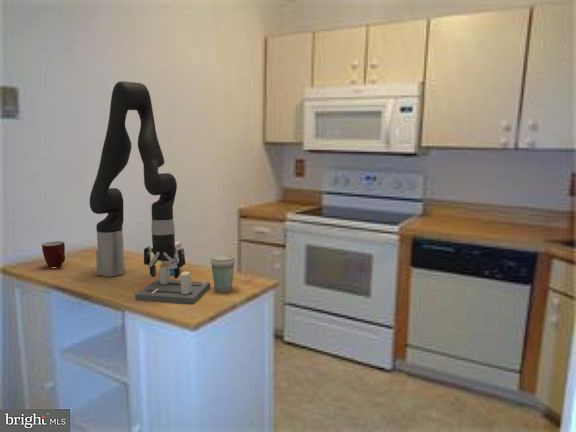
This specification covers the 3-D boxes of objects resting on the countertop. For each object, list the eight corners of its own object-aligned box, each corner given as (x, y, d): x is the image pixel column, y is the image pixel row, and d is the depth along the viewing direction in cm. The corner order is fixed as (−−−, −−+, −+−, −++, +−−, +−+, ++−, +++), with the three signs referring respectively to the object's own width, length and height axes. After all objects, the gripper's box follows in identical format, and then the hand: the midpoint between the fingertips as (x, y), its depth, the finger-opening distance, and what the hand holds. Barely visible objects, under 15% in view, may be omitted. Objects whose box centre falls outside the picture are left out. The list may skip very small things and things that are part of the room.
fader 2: (181, 293, 144) (180, 274, 143) (185, 290, 148) (184, 271, 146) (187, 294, 144) (187, 274, 143) (191, 290, 147) (190, 271, 146)
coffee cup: (225, 296, 149) (224, 261, 147) (205, 291, 154) (205, 257, 152) (240, 288, 156) (240, 255, 154) (222, 284, 161) (221, 252, 159)
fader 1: (160, 283, 154) (159, 265, 153) (164, 281, 157) (163, 263, 156) (166, 284, 154) (165, 266, 152) (170, 281, 157) (169, 263, 156)
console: (135, 300, 145) (135, 294, 145) (157, 284, 160) (157, 278, 160) (193, 304, 142) (193, 297, 141) (210, 287, 157) (210, 282, 157)
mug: (75, 266, 181) (73, 243, 180) (58, 272, 174) (55, 247, 172) (57, 263, 186) (55, 240, 184) (39, 268, 178) (37, 244, 177)
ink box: (173, 275, 171) (171, 246, 168) (161, 275, 172) (159, 245, 169) (182, 269, 179) (181, 241, 177) (171, 268, 180) (170, 240, 178)
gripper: (138, 233, 150) (140, 279, 152) (178, 235, 147) (180, 281, 150) (148, 228, 157) (151, 272, 160) (187, 230, 155) (188, 275, 157)
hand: (165, 277), depth 155 cm, fingers open, 8 cm apart
